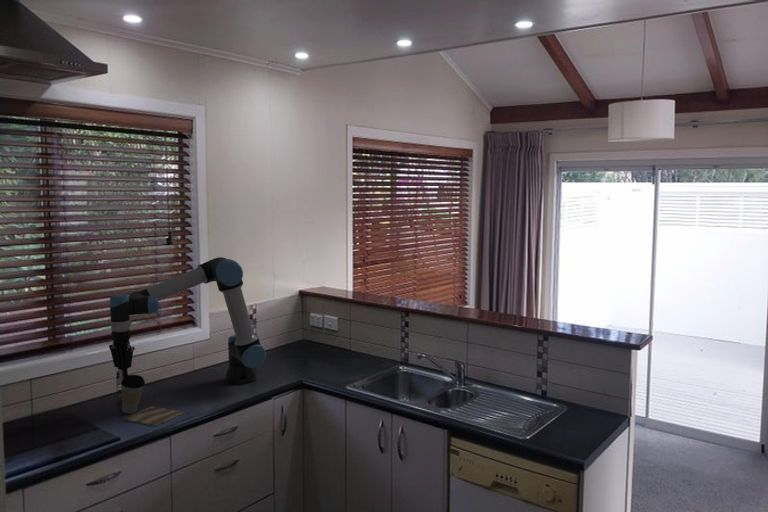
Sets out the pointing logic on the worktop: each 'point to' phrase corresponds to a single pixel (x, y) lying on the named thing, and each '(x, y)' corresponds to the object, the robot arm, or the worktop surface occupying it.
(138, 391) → the coffee cup
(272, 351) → the worktop surface
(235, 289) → the robot arm
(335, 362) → the worktop surface
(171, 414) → the brown striped mat
